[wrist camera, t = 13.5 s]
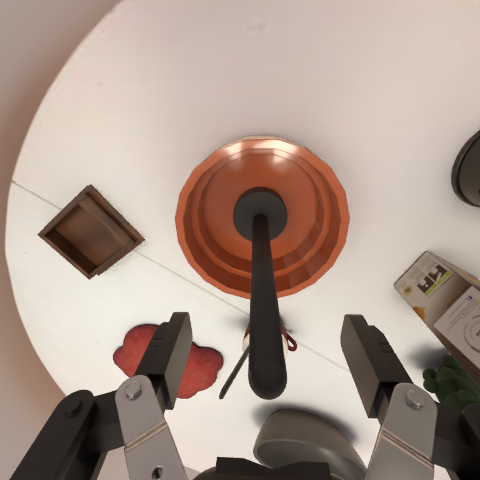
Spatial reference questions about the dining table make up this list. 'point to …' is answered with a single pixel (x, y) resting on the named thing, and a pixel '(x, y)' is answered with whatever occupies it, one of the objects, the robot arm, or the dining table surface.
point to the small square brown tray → (90, 233)
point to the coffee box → (446, 307)
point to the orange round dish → (296, 202)
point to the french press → (468, 172)
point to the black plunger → (263, 289)
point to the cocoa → (246, 353)
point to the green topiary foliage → (452, 384)
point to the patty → (196, 370)
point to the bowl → (306, 444)
